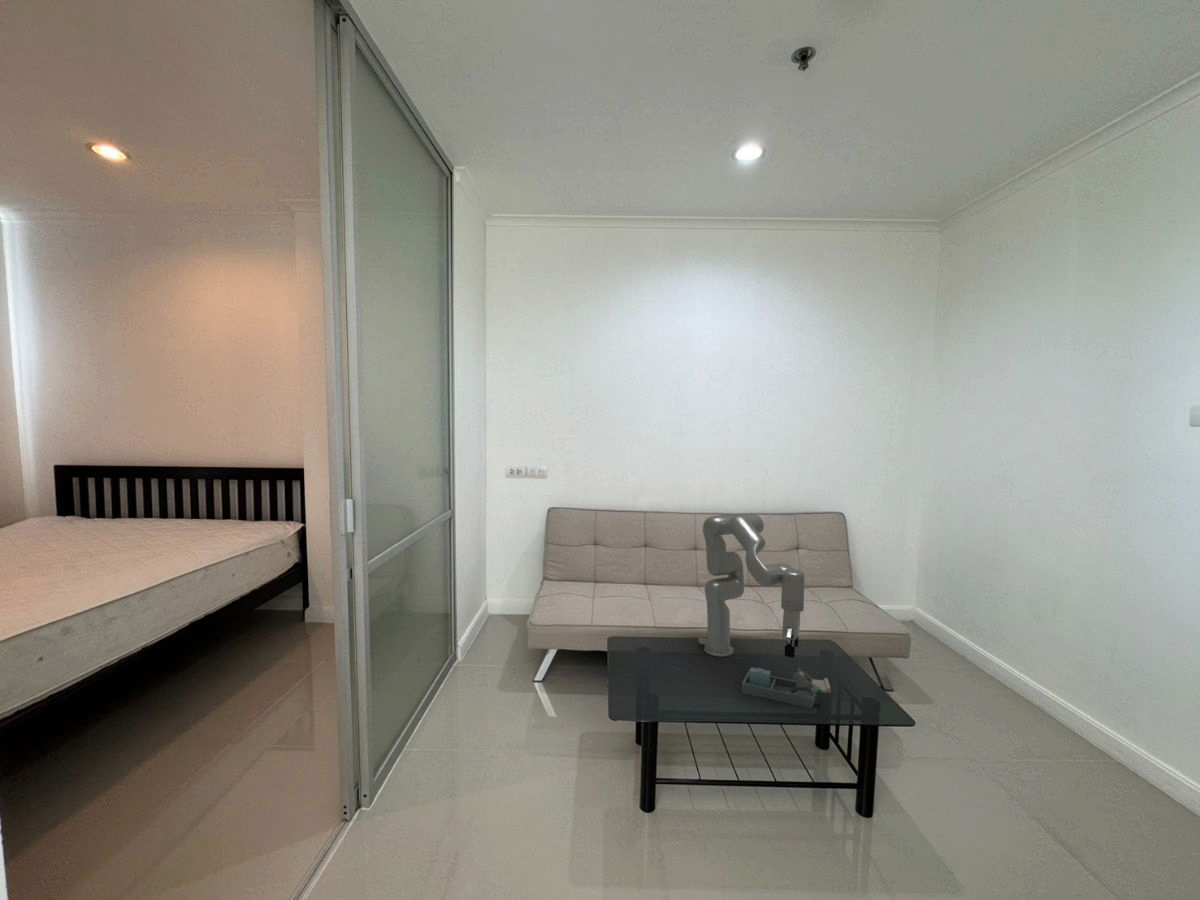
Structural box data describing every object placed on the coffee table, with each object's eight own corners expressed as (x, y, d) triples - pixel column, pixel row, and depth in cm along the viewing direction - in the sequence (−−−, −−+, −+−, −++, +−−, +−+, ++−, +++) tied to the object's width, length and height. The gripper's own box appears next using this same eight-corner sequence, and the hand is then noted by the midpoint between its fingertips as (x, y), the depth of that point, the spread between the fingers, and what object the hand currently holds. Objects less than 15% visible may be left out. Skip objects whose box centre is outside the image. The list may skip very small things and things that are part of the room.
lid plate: (801, 689, 186) (801, 685, 186) (799, 679, 194) (798, 675, 193) (830, 693, 183) (830, 688, 183) (827, 682, 191) (827, 678, 191)
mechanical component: (802, 704, 179) (820, 693, 173) (778, 683, 182) (795, 670, 176) (805, 699, 181) (822, 687, 175) (781, 677, 184) (797, 665, 178)
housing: (741, 693, 184) (741, 672, 184) (748, 680, 194) (748, 660, 194) (812, 709, 173) (812, 687, 173) (815, 694, 183) (815, 673, 182)
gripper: (785, 595, 190) (784, 639, 191) (777, 610, 174) (776, 658, 175) (806, 598, 186) (805, 643, 187) (800, 614, 171) (799, 663, 172)
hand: (791, 651), depth 181 cm, fingers open, 9 cm apart
